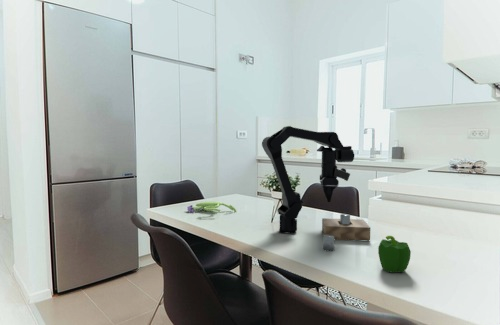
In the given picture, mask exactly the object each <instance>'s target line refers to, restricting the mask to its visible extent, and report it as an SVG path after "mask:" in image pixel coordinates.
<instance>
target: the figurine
mask: <svg viewBox="0 0 500 325" xmlns="http://www.w3.org/2000/svg"><path fill="white" fill-rule="evenodd" d="M220 206H224V207H226V208H228V209H230V210H231V211H233V212H234V213H237V209H236V208H235V207H234V206H233V204H227V203H224V202H221V201H202V202H198V203H196V204H195V206H193V205H189V206H187V212H188V213H191V214H193V213H195V212H194V210H199V211H202V210H203V211H208V212H209V211H214V212H217V213H220V212H221V209H219V208H220Z"/></svg>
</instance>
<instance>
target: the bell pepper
mask: <svg viewBox="0 0 500 325" xmlns="http://www.w3.org/2000/svg"><path fill="white" fill-rule="evenodd" d="M377 247H378V248H377V249H378V251H377V252H378V253H377V254H378V258H379V262H380V266H381V267H382V269H383V270H384V271H386V272H387V273H388V272H389V273H397V272H398V273H404V272H405V271H406V270H407V269H408V265H409V263H410V260H411V252H412V250H411V249H410V246H409V245H408V243H407V242H404V241H403V242H401V241H398V240H396V239H395V237H394V236H393V235H387V236H385V238H384V239H383V238H382V240H381V241H380V243H379V245H378V246H377Z"/></svg>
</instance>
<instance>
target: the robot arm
mask: <svg viewBox="0 0 500 325" xmlns="http://www.w3.org/2000/svg"><path fill="white" fill-rule="evenodd" d="M289 138H295V139H301V140H306V141H312V142H314V143H317V144H318V145H320V147H318V149H316V151H317V152H321V165H320V167H321V174H319V182H320V185H321V188H322V191H323V194H324V196H325V199H326V202H328V203H331V201H332V198H333V193H334V191H335V189H337V188H338V187H339V185H340V184H339V183H340V182H339V180H338V178H340V179H342V180H344V181H345V182H348V180H349V178H350V176H351V173H349V172H347V169H346V168H344V167H343V168H340V169H339V168H338V166H337V163H352V162H353V161H354V159H355V153H354V150H353V149H352V148H353V147H352V146H351V145H346V146H344V145H343V143H342V142H341V140H340V137H339V135H338V133H337V132H334V131H313V130H309V129H304V128H297V127H293V126H291V125H287V126H283V127H282V128H281V129H280V130H278V131H277V132H275V133H273V134H272V135H270V136H266V137H264V138H263V139H262V141H261V147H262V148H263V149H262V150H264V152H265V154H266V155H267V157H268V158H269V160H270V162H271V163H272V164H271V165H272V166H273V170H274V174H275V176H276V179H277V182H278V184H279V188H280V191H281V201H282V202H281V203H282V204H281V205H280V206H279V207H278V208H277V213H278V215H279V231H278V233H279V234H296V233H297V232H296V231H297V230H298V219H297V218H298V217H299V213H300V212H301V211H302V208H303V201H302V198H301V194H300V192H297V191H294V189H293V185H292V184H291V180H290V177H289V175H288V171H287V169H286V166H285V163H284V160H283V159H284V158H283V148H282V145H283V144H284V143H285V142H286V141H287V140H288V139H289Z"/></svg>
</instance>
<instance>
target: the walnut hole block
mask: <svg viewBox="0 0 500 325" xmlns="http://www.w3.org/2000/svg"><path fill="white" fill-rule="evenodd" d="M321 223H322V225H321V231H322V234H323V236H324V235H333V236H334V239H335V240H334V241H353V240H370V241H371V226H370V225H369V224H368V223H367V222H366V221H365V219H356V218H355V219H354V218H353V219H352V218H350V225H349V224H340V218H321Z"/></svg>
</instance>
